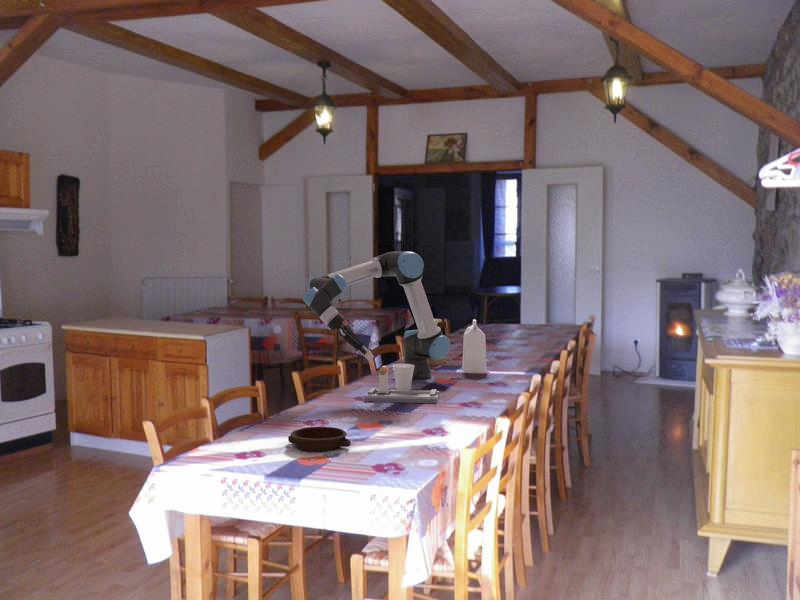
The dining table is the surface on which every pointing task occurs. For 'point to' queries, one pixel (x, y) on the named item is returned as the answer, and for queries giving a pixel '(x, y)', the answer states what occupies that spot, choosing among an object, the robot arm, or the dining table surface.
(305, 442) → the dish
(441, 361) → the candle holder
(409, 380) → the cup
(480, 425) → the dining table surface
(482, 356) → the milk
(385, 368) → the lever
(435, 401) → the switch panel
